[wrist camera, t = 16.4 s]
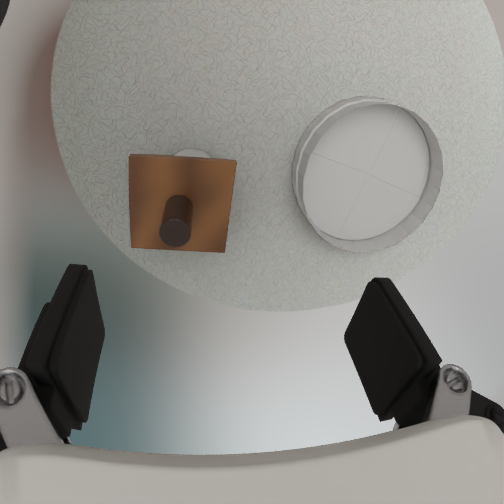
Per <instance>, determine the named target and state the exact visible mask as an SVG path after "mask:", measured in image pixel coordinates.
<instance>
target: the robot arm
mask: <svg viewBox="0 0 504 504" xmlns="http://www.w3.org/2000/svg"><path fill="white" fill-rule="evenodd" d="M104 337H105V329H104V324H103V320H102V315H101V311H100V306H99V301H98V297H97V292H96V286H95V281H94V276H93V271H92V270H88V267H87V266H86V265H78V264H69V266H68V267H67V269H66V271H65V273H64V275H63V277H62V279H61V281H60V283H59V285H58V287H57V289H56V291H55V294H54V296H53V298H52V300H51V302H50V303H49V302H48V303H46V304H45V305H44V307H43V309H42V311H41V313H40V315H39V318H38V320H37V322H36V324H35V327H34V329H33V331H32V334H31V336H30V339H29V341H28V343H27V346H26V348H25V351H24V354H23V357H22V359H21V362H20V364H19V367H18V369H17V368H14V367H13V368H11V367H9V368H4V369H1V370H0V504H504V409H503V408H502V407H501V406H500V405H498V404H497V403H495V402H493V401H491V400H489V399H488V398H486V397H484V396H482V395H480V394H478V393H476V392H474V391H473V390H471V388H472V386H471V380H470V378H469V376H468V375H467V373H466V372H465V371H464V370H463V369H462V368H460V367H459V366H456V365H454V364H447V365H444V366H443V367H442V368H440V366H439V364H440V363H441V362H442V359H441V358H440V356H439V354H438V353H437V351H436V349H435V348H434V346H433V344H432V343H431V341H430V339H429V338H428V336H427V334H426V333H425V331H424V330H423V328H422V326H421V325H420V323H419V322H418V320H417V319H416V317H415V315H414V314H413V312H412V311H411V309H410V308H409V306H408V305H407V303H406V302H405V300H404V299H403V297H402V296H401V294H400V293H399V291H398V290H397V288H396V287H395V285H394V284H393V282H392V281H391V280H390V279H389V278H373V279H372V281H371V282H369V283H368V284H367V286H366V288H365V291H364V293H363V295H362V297H361V300H360V302H359V304H358V306H357V308H356V310H355V313H354V315H353V317H352V319H351V321H350V323H349V325H348V328H347V329H346V332H345V335H344V340H345V343H346V346H347V348H348V350H349V353H350V355H351V358H352V360H353V362H354V365H355V367H356V370H357V372H358V375H359V377H360V379H361V382H362V385H363V387H364V389H365V392H366V395H367V397H368V400H369V402H370V404H371V407H372V409H373V412H374V413H375V414H376V415H378V417H379V420H380V422H381V421H385V420H389V419H392V418H393V417H394V418H395V420H396V423H395V426H394V428H393V431H390V432H386V433H382V434H378V435H373V436H369V437H364V438H360V439H355V440H350V441H345V442H340V443H334V444H328V445H322V446H316V447H309V448H301V449H293V450H284V451H275V452H264V453H250V454H229V455H228V454H227V455H177V454H157V453H143V452H130V451H129V452H128V451H119V450H110V449H101V448H94V447H86V446H77V445H73V444H72V443H71V441H70V440H69V438H68V437H69V436H70V434H71V429H77V430H81V428H82V422H85V423H86V422H87V420H88V415H89V409H90V403H91V398H92V393H93V387H94V382H95V377H96V372H97V368H98V363H99V359H100V354H101V350H102V345H103V341H104Z"/></svg>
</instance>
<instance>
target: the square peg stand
mask: <svg viewBox="0 0 504 504" xmlns="http://www.w3.org/2000/svg"><path fill="white" fill-rule="evenodd" d="M236 164H237V162H236V160H228V159H217V158H203V157H188V156H170V155H145V154H130V156H129V210H130V233H131V248H144V249H163V250H181V251H200V252H219V253H225V247H226V239H227V231H228V223H229V215H230V208H231V200H232V193H233V185H234V178H235V171H236Z"/></svg>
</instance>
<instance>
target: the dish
mask: <svg viewBox="0 0 504 504" xmlns="http://www.w3.org/2000/svg"><path fill="white" fill-rule="evenodd" d="M442 175H443V165H442V154H441V150H440V147H439V144H438V140H437V138H436V136H435V135H434V133H433V132H432V130H431V128H430V127H429V125H428V124H427V123H426V122H425V121H424V120H423V119H421V118H420V117H419V116H418V115H417V114H416V113H414V112H412V111H410V110H408V109H405V108H404V107H402V106H400V105H398V104H395V103H393V102H390V101H387V100H384V99H381V98H377V97H361V96H360V97H355V98H351V99H347V100H343V101H340V102H338V103H336V104H335V105H333V106H331V107H330V108H328V109H326V110H324V111H323V112H322V113H321V114H320V115H319V116H318V117H317V118H316V119H315V120H314V121H313V122H312V123H311V124H310V125H309V126H308V127H307V129H306V131H305V133H304V134H303V136H302V138H301V140H300V141H299V143H298V145H297V149H296V152H295V156H294V160H293V164H292V186H293V189H294V193H295V196H296V200H297V203H298V205H299V206H300V208H301V210H302V212H303V213H304V215H305V216H306V218H307V219H308V221H309V223H310V224H311V225H312V226H313V227H314V229H315V230H316V232H317V233H318V234H319V235H320V236H321V237H322V238H323V239H325V240H326V241H327V242H328V243H329V244H330V245H333V246H335V247H337V248H340V249H342V250H344V251H349V252H358V253H366V252H373V251H379V250H382V249H385V248H387V247H390V246H393V245H395V244H397V243H398V242H400V241H401V240H403V239H404V238H406V237H407V236H409V235H410V234H411V233H412V232H413V231H414V230H415V229H416V228H417V227H418V226H419V225H420V224H421V223H422V222H423V221H424V220H425V218H426V217H427V215H428V214H429V212H430V211H431V209H432V208H433V206H434V203H435V201H436V198H437V196H438V193H439V191H440V186H441V181H442Z"/></svg>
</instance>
